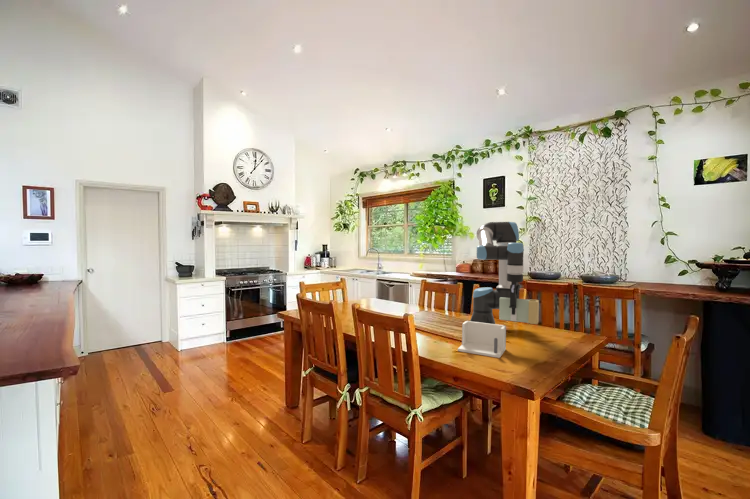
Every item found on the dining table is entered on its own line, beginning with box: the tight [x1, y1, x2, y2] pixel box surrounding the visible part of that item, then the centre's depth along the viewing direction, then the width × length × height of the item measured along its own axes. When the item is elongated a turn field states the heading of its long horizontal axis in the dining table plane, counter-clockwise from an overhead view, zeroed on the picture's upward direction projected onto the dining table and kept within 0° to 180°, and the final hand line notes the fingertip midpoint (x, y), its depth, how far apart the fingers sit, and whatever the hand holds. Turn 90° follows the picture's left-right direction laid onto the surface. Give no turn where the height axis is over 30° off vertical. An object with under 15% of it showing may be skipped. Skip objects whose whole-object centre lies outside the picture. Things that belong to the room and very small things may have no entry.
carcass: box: [457, 320, 507, 359], centre depth 181 cm, size 14×20×12 cm
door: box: [498, 297, 540, 325], centre depth 184 cm, size 5×18×11 cm, turn 59°
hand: (514, 319), depth 185 cm, fingers closed on door, 3 cm apart
